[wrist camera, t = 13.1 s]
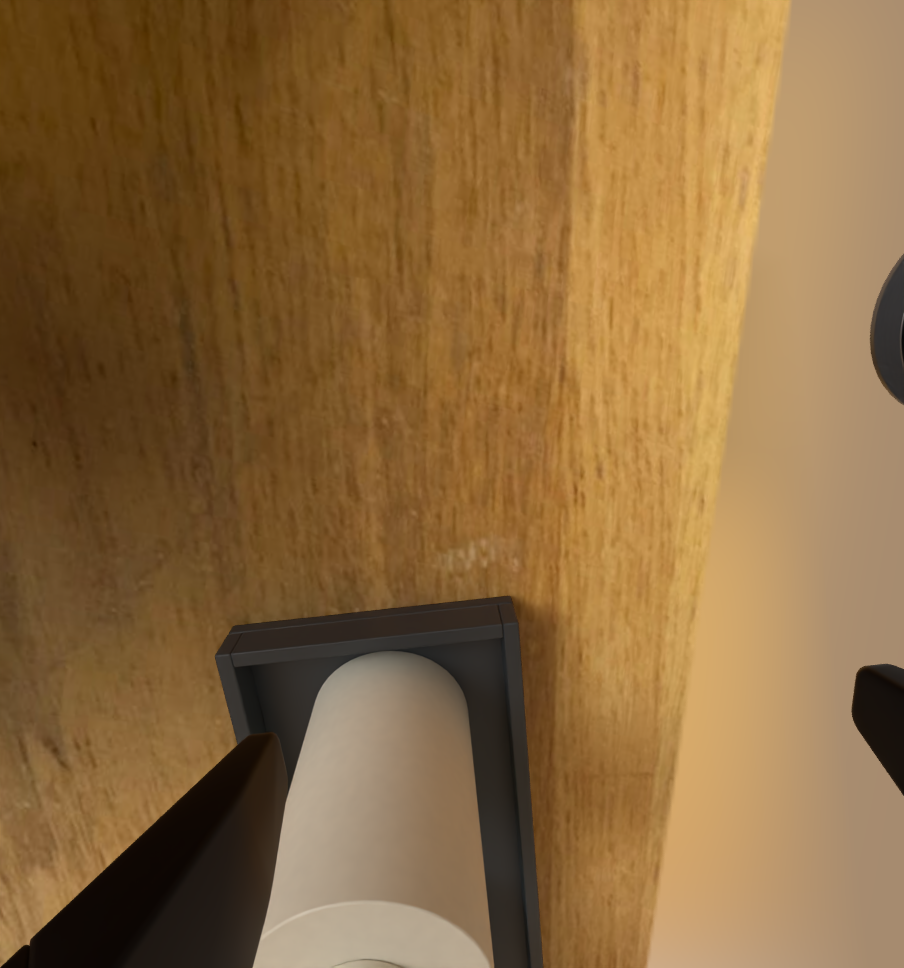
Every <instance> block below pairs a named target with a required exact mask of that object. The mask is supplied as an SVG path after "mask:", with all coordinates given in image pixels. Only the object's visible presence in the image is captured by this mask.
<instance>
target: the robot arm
mask: <svg viewBox="0 0 904 968" xmlns="http://www.w3.org/2000/svg"><path fill="white" fill-rule="evenodd" d="M852 717H853V721H854V723H855V725H856V727H857V729H858V730H859V732H860V733H861V735H862V736H863V738H864V739H865V741H866V742H867V743H868V745H869V746H870V748H871V749H872V751H873V752H874V754H875V755H876V756H877V758H878V759H879V761H880V762H881V764H882V765H883V767H884V768H885V769H886V771H887V772H888V773H889V775H890V777H891V778H892V779H893V781H894V782H895V784H896V785H897V787H898V788H899V790H900V791H901V793H902V794H903V795H904V669H902V668H899V667H897V666H894V665H890V664H880V665H871V666H864V667H862V668H860V669H859V670H858V672H857V674H856V680H855V687H854V695H853V703H852ZM287 790H288V777H287V771H286V767H285V762H284V758H283V754H282V749H281V745H280V741H279V738H278V736H277V734H275V733H273V732H268V733H259V734H252V735H249V736H247V737H246V738H244V739H243V740H242V741H241V742H240V743H239V744H238V745H237V746H236V747H235V748H234V749H233V750H232V751H231V752H230V753H228V754H227V755H226V756H225V757H224V758H223V759H222V760H221V761H220V762H219V763H218V764H217V765H216V766H215V767H214V768H213V769H211V770H210V771H209V772H208V773H207V774H206V775H205V776H204V777H203V778H202V779H201V780H200V781H199V782H198V783H197V784H195V785H194V786H193V787H192V788H191V789H190V790H189V791H188V792H187V793H186V794H185V795H184V796H183V797H182V798H181V799H179V800H178V801H177V802H176V803H175V804H174V805H173V806H172V807H171V808H170V809H169V810H168V811H167V812H166V813H165V814H164V815H162V816H161V817H160V818H159V819H158V820H157V821H156V822H155V823H154V824H153V825H152V826H151V827H150V828H149V829H148V830H146V831H145V832H144V833H143V834H142V835H141V836H140V837H139V838H138V839H137V840H136V841H135V842H134V843H133V844H132V845H130V846H129V847H128V848H127V849H126V850H125V851H124V852H123V853H122V854H121V855H120V856H119V857H118V858H117V859H116V860H115V861H113V862H112V863H111V864H110V865H109V866H108V867H107V868H106V869H105V870H104V871H103V872H102V873H101V874H100V875H99V876H97V877H96V878H95V879H94V880H93V881H92V882H91V883H90V884H89V885H88V886H87V887H86V888H85V889H84V890H83V891H82V892H80V893H79V894H78V895H77V896H76V897H75V898H74V899H73V900H72V901H71V902H70V903H69V904H68V905H67V906H66V907H64V908H63V909H62V910H61V911H60V912H59V913H58V914H57V915H56V916H55V917H54V918H53V919H52V920H51V921H50V922H48V923H47V924H46V925H45V926H44V927H43V928H42V929H41V930H40V931H39V932H38V933H37V934H36V935H35V936H34V937H33V938H32V939H31V941H30V946H29V945H24V946H23V947H22V948H21V949H19V950H18V951H17V952H16V953H15V954H14V955H13V956H12V957H11V958H10V959H9V960H8V961H7V962H6V963H5V964H3V965H2V966H1V967H0V968H253V965H254V961H255V957H256V953H257V949H258V946H259V942H260V938H261V934H262V930H263V926H264V923H265V919H266V914H267V910H268V906H269V902H270V897H271V891H272V885H273V880H274V873H275V867H276V861H277V854H278V848H279V842H280V835H281V829H282V823H283V816H284V810H285V804H286V797H287Z"/></svg>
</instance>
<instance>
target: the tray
mask: <svg viewBox="0 0 904 968" xmlns="http://www.w3.org/2000/svg"><path fill="white" fill-rule="evenodd" d="M380 651H402V652H408V653H413V654H416V655H420V656H423V657H425V658H427V659H430V660H432V661H433V662H435V663H437V664H438V665H440V666H441V667H443V668H444V669H445V670H446V671H448V672H449V674H450V675H451V676H452V677H453V678H454V679H455V680H456V682H457V683H458V684H459V686H460V688H461V689H462V691H463V693H464V696H465V699H466V702H467V707H468V715H469V725H470V735H471V745H472V754H473V764H474V774H475V784H476V794H477V803H478V813H479V823H480V833H481V842H482V852H483V862H484V872H485V882H486V891H487V901H488V911H489V921H490V930H491V940H492V950H493V960H494V968H543V956H542V942H541V928H540V914H539V900H538V886H537V872H536V858H535V845H534V831H533V817H532V803H531V789H530V775H529V761H528V747H527V733H526V719H525V705H524V691H523V677H522V663H521V649H520V635H519V623H518V619H517V616H516V613H515V609H514V606H513V602H512V599H511V597H510V596H503V597H494V598H485V599H476V600H467V601H458V602H448V603H439V604H430V605H421V606H412V607H403V608H393V609H384V610H375V611H366V612H357V613H348V614H338V615H329V616H320V617H311V618H302V619H293V620H283V621H274V622H265V623H256V624H247V625H238V626H233V627H232V629H231V631H230V632H229V635H227V637H226V639H225V640H224V642H223V643H222V645H221V647H220V648H219V650H218V652H217V653H216V655H215V659H216V663H217V667H218V671H219V675H220V678H221V682H222V686H223V690H224V694H225V698H226V702H227V706H228V709H229V713H230V717H231V721H232V725H233V729H234V733H235V736H236V740H237V744H239V743H240V742H241V741H242V740H243V739H244V738H246V737H247V736H249V735H252V734H259V733H268V732H273V733H275V734H277V736H278V738H279V741H280V745H281V749H282V754H283V758H284V762H285V767H286V771H287V777H288V790H287V797H288V793H289V790H290V786H291V783H292V780H293V776H294V773H295V769H296V766H297V762H298V759H299V755H300V752H301V749H302V745H303V742H304V738H305V735H306V731H307V728H308V724H309V721H310V718H311V714H312V711H313V707H314V704H315V701H316V698H317V695H318V692H319V691H320V689H321V687H322V685H323V684H324V683H325V681H326V680H327V679H328V677H329V676H330V675H331V674H332V673H333V672H334V671H336V670H337V669H338V668H339V667H341V666H342V665H343V664H345V663H347V662H349V661H350V660H352V659H355V658H357V657H359V656H362V655H366V654H369V653H374V652H380ZM287 797H286V800H287Z"/></svg>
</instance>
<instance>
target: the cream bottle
mask: <svg viewBox="0 0 904 968" xmlns="http://www.w3.org/2000/svg"><path fill="white" fill-rule="evenodd" d="M253 968H494V960H493V950H492V940H491V930H490V921H489V911H488V901H487V891H486V882H485V872H484V862H483V852H482V842H481V833H480V823H479V813H478V803H477V794H476V784H475V774H474V764H473V754H472V745H471V735H470V725H469V715H468V707H467V702H466V699H465V696H464V693H463V691H462V689H461V688H460V686H459V684H458V683H457V682H456V680H455V679H454V678H453V677H452V676H451V675H450V674H449V672H448V671H446V670H445V669H444V668H443V667H441V666H440V665H438V664H437V663H435V662H433V661H432V660H430V659H427V658H425V657H423V656H420V655H416V654H413V653H408V652H402V651H380V652H374V653H369V654H366V655H362V656H359V657H357V658H355V659H352V660H350V661H349V662H347V663H345V664H343V665H342V666H341V667H339V668H338V669H337V670H336V671H334V672H333V673H332V674H331V675H330V676H329V677H328V679H327V680H326V681H325V683H324V684H323V685H322V687H321V689H320V691H319V692H318V695H317V698H316V701H315V704H314V707H313V711H312V714H311V718H310V721H309V724H308V728H307V731H306V735H305V738H304V742H303V745H302V749H301V752H300V755H299V759H298V762H297V766H296V769H295V773H294V776H293V780H292V783H291V786H290V790H289V793H288V797H287V800H286V804H285V810H284V816H283V823H282V829H281V835H280V842H279V848H278V854H277V861H276V867H275V873H274V880H273V885H272V891H271V897H270V902H269V906H268V910H267V914H266V919H265V923H264V926H263V930H262V934H261V938H260V942H259V946H258V949H257V953H256V957H255V961H254V965H253Z"/></svg>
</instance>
